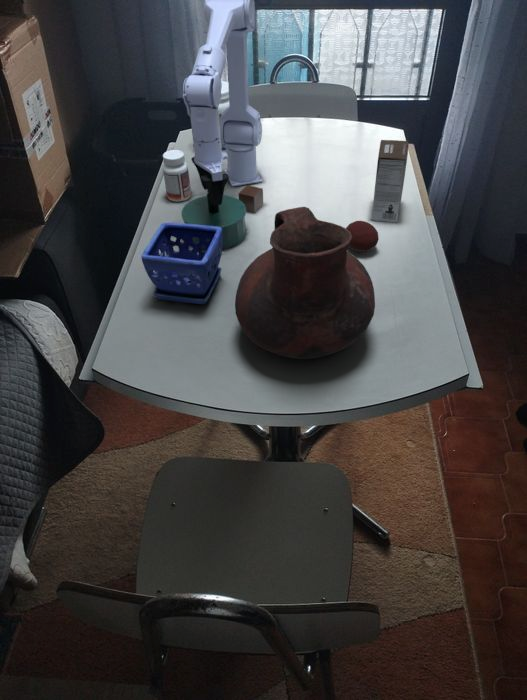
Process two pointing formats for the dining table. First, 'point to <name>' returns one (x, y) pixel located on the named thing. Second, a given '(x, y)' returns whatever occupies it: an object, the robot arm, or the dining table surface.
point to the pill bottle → (176, 176)
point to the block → (251, 198)
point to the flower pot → (184, 262)
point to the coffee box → (389, 180)
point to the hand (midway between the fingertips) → (212, 196)
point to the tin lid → (214, 212)
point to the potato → (362, 236)
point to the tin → (230, 235)
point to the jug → (305, 290)
